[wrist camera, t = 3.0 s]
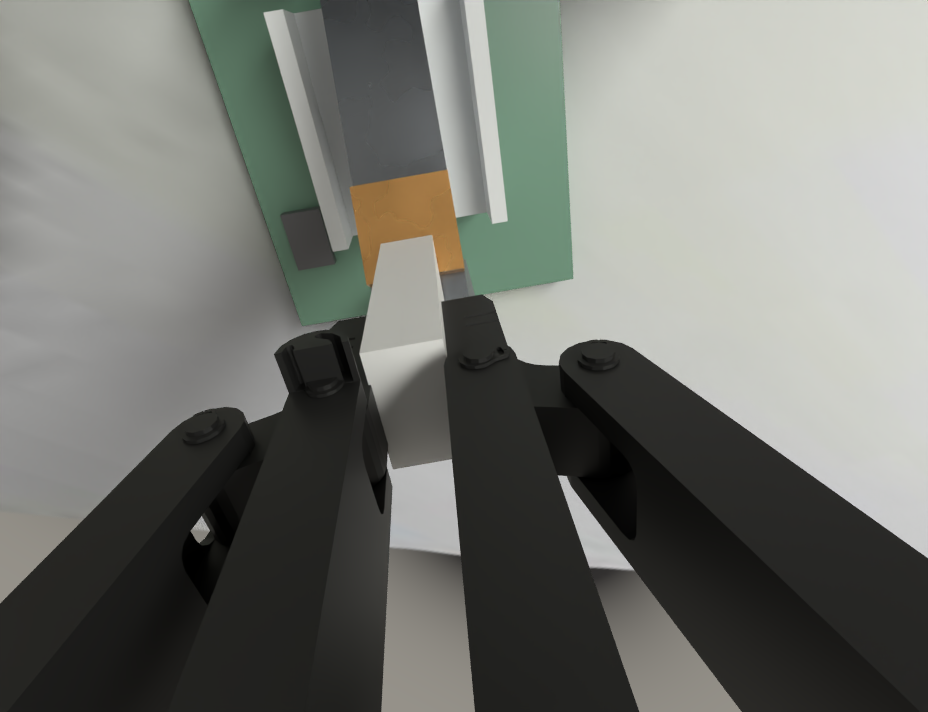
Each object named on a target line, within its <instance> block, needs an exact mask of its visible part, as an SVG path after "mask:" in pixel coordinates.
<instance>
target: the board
mask: <svg viewBox="0 0 928 712" xmlns="http://www.w3.org/2000/svg"><path fill="white" fill-rule="evenodd" d="M417 1H418V7H419V12H420V18H421V24H422V30H423V35H424V41H425V47H426V52H427V58H428V64H429V70H430V75H431V81H432V87H433V93H434V98H435V104H436V110H437V115H438V121H439V127H440V133H441V138H442V144H443V150H444V155H445V161H446V167H447V170H448V175H449V181H450V187H451V192H452V198H453V204H454V210H455V215H456V221H457V227H458V233H459V238H460V244H461V250H462V255H463V261H464V267H465V276H466V281H467V287H468V293H469V297H470V296H476V295H481V294H482V295H483V294H489V293H494V292H500V291H506V290H512V289H517V288H523V287H529V286H534V285H540V284H546V283H552V282H557V281H563V280H569V279H573V263H572V242H571V221H570V201H569V180H568V159H567V139H566V118H565V97H564V77H563V56H562V36H561V15H560V0H417ZM189 3H190V6H191V9H192V11H193V14H194V17H195V20H196V23H197V26H198V29H199V32H200V34H201V37H202V40H203V43H204V46H205V49H206V52H207V54H208V57H209V60H210V63H211V66H212V69H213V72H214V75H215V77H216V80H217V83H218V86H219V89H220V92H221V95H222V97H223V100H224V103H225V106H226V109H227V112H228V115H229V118H230V120H231V123H232V126H233V129H234V132H235V135H236V138H237V141H238V143H239V146H240V149H241V152H242V155H243V158H244V161H245V163H246V166H247V169H248V172H249V175H250V178H251V181H252V184H253V186H254V189H255V192H256V195H257V198H258V201H259V204H260V206H261V209H262V212H263V215H264V218H265V221H266V224H267V227H268V229H269V232H270V235H271V238H272V241H273V244H274V247H275V249H276V252H277V255H278V258H279V261H280V264H281V267H282V270H283V272H284V275H285V278H286V281H287V284H288V287H289V290H290V293H291V295H292V298H293V301H294V304H295V307H296V310H297V313H298V315H299V318H300V321H301V324H302V326H306V325H312V324H318V323H323V322H329V321H335V320H340V319H346V318H352V317H357V316H363V315H367V312H368V307H369V301H370V296H371V289H370V287H369V286H367V284H366V279H365V273H364V267H363V262H362V256H361V250H360V244H359V239H358V233H357V227H356V222H355V216H354V210H353V204H352V199H351V193H350V187H351V186H352V180H351V175H350V169H349V163H348V157H347V152H346V146H345V140H344V135H343V129H342V123H341V117H340V112H339V106H338V100H337V94H336V89H335V83H334V77H333V72H332V66H331V60H330V54H329V49H328V43H327V37H326V32H325V26H324V20H323V14H322V9H321V3H320V0H189Z"/></svg>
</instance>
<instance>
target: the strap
mask: <svg viewBox="0 0 928 712" xmlns="http://www.w3.org/2000/svg"><path fill="white" fill-rule="evenodd" d="M320 3H321V9H322V14H323V20H324V26H325V32H326V37H327V43H328V49H329V54H330V60H331V66H332V72H333V77H334V83H335V89H336V94H337V100H338V106H339V112H340V117H341V123H342V129H343V135H344V140H345V146H346V152H347V157H348V163H349V169H350V175H351V180H352V186H351V187H350V193H351V199H352V204H353V210H354V216H355V222H356V227H357V233H358V239H359V244H360V250H361V256H362V262H363V267H364V273H365V279H366V284H367V286H369V287H370V289H371V291H372V286H373V281H374V276H375V271H376V265H377V260H378V255H379V250H380V245H381V244H382V243H388V242H394V241H400V240H405V239H411V238H417V237H422V236H428V235H432V237H433V242H434V248H435V253H436V258H437V264H438V269H439V275H440V280H441V285H442V291H443V296H444V301H447V300H453V299H458V298H464V297H469V293H468V287H467V281H466V276H465V267H464V261H463V255H462V250H461V244H460V238H459V233H458V227H457V221H456V215H455V210H454V204H453V198H452V192H451V187H450V181H449V175H448V170H447V167H446V161H445V155H444V150H443V144H442V138H441V133H440V127H439V121H438V115H437V110H436V104H435V98H434V93H433V87H432V81H431V75H430V70H429V64H428V58H427V52H426V47H425V41H424V35H423V30H422V24H421V18H420V12H419V7H418V1H417V0H320Z"/></svg>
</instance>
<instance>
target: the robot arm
mask: <svg viewBox="0 0 928 712" xmlns="http://www.w3.org/2000/svg"><path fill="white" fill-rule="evenodd" d="M274 355H275V358H276V361H277V363H278V366H279V368H280V371H281V374H282V376H283V379H284V381H285V384H286V387H287V389H288V392H289V395H288V397H287V400H286V402H285V405H284V408H283V410H282V411H281V412H279V413H276V414H274V415H271V416H269V417H266V418H263V419H260V420H258V421H255V422H252V423H249V424H248V422H247V420H246V418H245V416H244V414H243V412H241V411H240V410H238V409H237V408H229V407H223V408H217V409H209V410H205V412H203V411H202V412H200V413H197V414H195V415H194V416H193V417H191V418H189V419H187V420H186V421H184V422H182V423H181V424H180V425H178V426H177V427H176V428H175V429H173V430H172V431H171V432H170V433H169V434H168V435H167V436H166V437H165V438H164V439H163V440H162V441H161V442H160V443H159V444H158V445H157V446H156V447H155V448H154V449H153V450H152V451H151V452H150V453H149V454H148V455H147V456H146V457H145V458H144V459H143V460H142V461H141V462H140V463H139V464H138V465H137V466H136V467H135V468H134V469H133V470H132V471H131V472H130V473H129V474H128V475H127V476H126V477H125V478H124V479H123V480H122V481H121V482H120V483H119V484H118V485H117V486H116V487H115V488H114V489H113V490H112V492H111V493H110V494H109V495H108V496H107V497H106V498H105V499H104V500H103V501H102V502H101V503H100V504H99V505H98V506H97V507H96V508H95V509H94V510H93V511H92V512H91V513H90V514H89V515H88V516H87V517H86V518H85V519H84V520H83V521H82V522H81V523H80V524H79V525H78V526H77V527H76V528H75V529H74V530H73V531H72V532H71V533H70V534H69V535H68V536H67V537H66V538H65V539H64V540H63V541H62V542H61V543H60V544H59V545H58V546H57V547H56V548H55V549H54V550H53V551H52V552H51V553H50V554H49V555H48V556H47V557H46V558H45V559H44V560H43V561H42V562H41V563H40V564H39V565H38V566H37V567H36V568H35V569H34V570H33V571H32V572H31V573H30V574H29V575H28V576H27V577H26V578H25V579H24V580H23V581H22V582H21V583H20V584H19V585H18V586H17V587H16V588H15V589H14V590H13V591H12V592H11V593H10V594H9V595H8V596H7V597H6V598H5V599H4V600H3V602H2V603H0V712H381V704H382V684H383V663H384V642H385V624H386V623H385V622H386V604H387V584H388V563H389V544H390V524H391V504H392V484H391V480H390V476H389V473H388V469H387V454H389V457H390V460H391V464H392V467H393V469H397V468H403V467H409V466H415V465H420V464H426V463H432V462H437V461H443V460H449V459H452V463H453V474H454V485H455V496H456V507H457V518H458V529H459V540H460V551H461V562H462V573H463V583H464V594H465V605H466V617H467V628H468V639H469V650H470V661H471V672H472V683H473V694H474V704H475V712H639V710H638V707H637V704H636V701H635V699H634V696H633V693H632V690H631V687H630V684H629V681H628V678H627V675H626V672H625V669H624V667H623V664H622V661H621V658H620V655H619V652H618V649H617V647H616V643H615V640H614V638H613V635H612V632H611V629H610V626H609V623H608V620H607V617H606V614H605V612H604V609H603V606H602V603H601V600H600V597H599V595H598V591H597V588H596V585H595V583H594V580H593V577H592V574H591V571H590V568H589V565H588V562H587V559H586V556H585V554H584V551H583V548H582V545H581V542H580V539H579V536H578V533H577V530H576V528H575V525H574V522H573V519H572V516H571V513H570V510H569V507H568V504H567V501H566V499H565V496H564V493H563V490H562V487H561V484H560V481H559V478H558V475H562V476H567V478H568V480H569V482H570V485H571V487H572V488H573V489H574V491H575V492H576V493H577V495H578V496H579V497H580V499H581V500H582V501H583V503H584V504H585V505H586V507H587V508H588V509H589V511H590V512H591V513H592V515H593V516H594V517H595V519H596V520H597V521H598V522H599V524H600V525H601V526H602V528H603V529H604V530H605V532H606V533H607V534H608V536H609V537H610V538H611V540H612V541H613V542H614V544H615V545H616V546H617V548H618V549H619V550H620V552H621V553H622V554H623V555H624V557H625V558H626V559H627V561H628V562H629V563H630V565H631V566H632V567H633V569H634V570H635V571H636V573H637V574H638V575H639V577H640V578H641V579H642V581H643V582H644V583H645V584H646V586H647V587H648V589H649V590H650V591H651V592H652V594H653V595H654V596H655V598H656V599H657V600H658V602H659V603H660V604H661V606H662V607H663V608H664V610H665V611H666V612H667V614H668V615H669V616H670V617H671V619H672V620H673V622H674V623H675V624H676V625H677V627H678V628H679V629H680V631H681V632H682V633H683V635H684V636H685V637H686V639H687V640H688V641H689V643H690V644H691V645H692V646H693V648H694V649H695V651H696V652H697V653H698V655H699V656H700V657H701V659H702V660H703V661H704V662H705V664H706V665H707V666H708V668H709V669H710V670H711V672H712V673H713V674H714V675H715V677H716V678H717V680H718V681H719V682H720V684H721V685H722V686H723V688H724V689H725V690H726V692H727V693H728V694H729V695H730V697H731V698H732V699H733V701H734V702H735V703H736V705H737V706H738V707H739V709H740V710H741V711H742V712H928V558H927V557H925V556H924V555H922V554H921V553H920V552H918V551H917V550H915V549H914V548H913V547H911V546H910V545H908V544H907V543H905V542H904V541H903V540H901V539H900V538H898V537H897V536H896V535H894V534H893V533H891V532H890V531H889V530H887V529H886V528H884V527H883V526H882V525H880V524H879V523H877V522H876V521H875V520H873V519H872V518H870V517H869V516H868V515H866V514H865V513H863V512H862V511H861V510H859V509H858V508H856V507H855V506H853V505H852V504H851V503H849V502H848V501H846V500H845V499H844V498H842V497H841V496H839V495H838V494H837V493H835V492H834V491H832V490H831V489H830V488H828V487H827V486H825V485H824V484H823V483H821V482H820V481H818V480H817V479H816V478H814V477H813V476H811V475H810V474H808V473H807V472H806V471H804V470H803V469H801V468H800V467H799V466H797V465H796V464H794V463H793V462H792V461H790V460H789V459H787V458H786V457H785V456H783V455H782V454H780V453H779V452H778V451H776V450H775V449H773V448H772V447H771V446H769V445H768V444H766V443H765V442H764V441H762V440H761V439H759V438H758V437H756V436H755V435H754V434H752V433H751V432H749V431H748V430H747V429H745V428H744V427H742V426H741V425H740V424H738V423H737V422H735V421H734V420H733V419H731V418H730V417H728V416H727V415H726V414H724V413H723V412H721V411H720V410H719V409H717V408H716V407H714V406H713V405H711V404H710V403H709V402H707V401H706V400H704V399H703V398H702V397H700V396H699V395H697V394H696V393H695V392H693V391H692V390H690V389H689V388H688V387H686V386H685V385H683V384H682V383H681V382H679V381H678V380H676V379H675V378H674V377H672V376H671V375H669V374H668V373H667V372H665V371H664V370H662V369H661V368H659V367H658V366H657V365H655V364H654V363H652V362H651V361H650V360H648V359H647V358H645V357H644V356H643V355H641V354H640V353H638V352H637V351H636V350H634V349H633V348H631V347H629V346H627V345H625V344H622V343H619V342H614V341H609V340H590V341H587V342H582V343H578V344H576V345H574V346H571V347H569V348H567V349H566V350H565V351H564V352H563V353H562V354H561V356H560V360H559V366H546V365H534V364H530V363H525V362H523V361H520V360H518V359H517V357H516V354H515V352H514V351H513V350H512V348H511V347H509V346H507V343H506V340H505V337H504V334H503V331H502V328H501V325H500V322H499V319H498V316H497V313H496V310H495V307H494V304H493V301H491V300H490V299H488V298H486V297H485V296H483V295H482V294H481V295H476V296H470V297H464V298H458V299H453V300H447V301H444V296H443V291H442V285H441V280H440V275H439V269H438V264H437V258H436V253H435V248H434V242H433V237H432V235H428V236H422V237H417V238H411V239H405V240H400V241H394V242H388V243H382V244H381V245H380V250H379V255H378V260H377V265H376V271H375V276H374V281H373V286H372V291H371V296H370V301H369V307H368V312H367V316H365V317H359V318H354V319H348V320H342V321H338V322H337V323H336V324H335V325H334V326H333V327H332V328H331V329H330V330H322V331H315V332H311V333H307V334H303V335H301V336H299V337H296V338H294V339H292V340H290V341H288V342H287V343H285V344H284V345H282V346H281V347H280V348H279V349H278V350H277V351H276V352H275V354H274ZM201 516H202V517H203V519H204V521H205V522H206V524H207V526H208V528H209V529H210V532H209V533H208V535H207V536H206V538H205V539H204V540H203V541H202V542H200V543H198V542H197V541H196V540H195V538H194V536H193V534H192V533H191V529H192V528H193V527H194V525H195V524H196V523H197V521H198V520H199V519H200V517H201Z"/></svg>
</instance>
